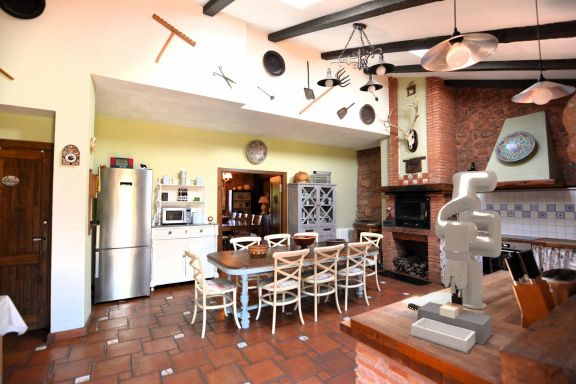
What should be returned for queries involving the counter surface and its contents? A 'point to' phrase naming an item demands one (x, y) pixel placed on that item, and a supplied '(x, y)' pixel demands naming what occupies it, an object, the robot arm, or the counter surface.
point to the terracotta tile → (456, 306)
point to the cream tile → (449, 311)
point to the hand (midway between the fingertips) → (457, 307)
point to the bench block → (460, 320)
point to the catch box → (444, 334)
